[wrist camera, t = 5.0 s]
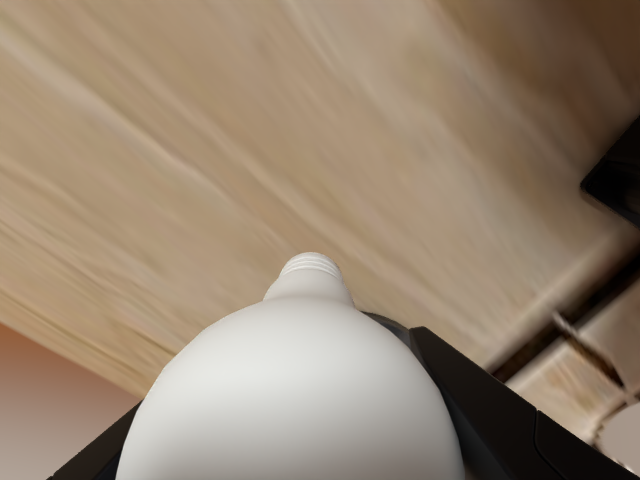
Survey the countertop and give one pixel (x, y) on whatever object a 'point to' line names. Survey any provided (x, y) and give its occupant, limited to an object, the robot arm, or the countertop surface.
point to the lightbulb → (294, 396)
